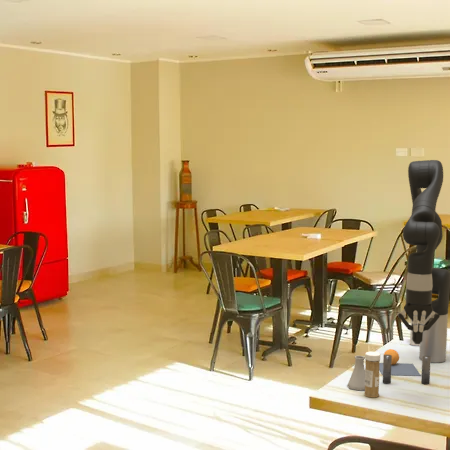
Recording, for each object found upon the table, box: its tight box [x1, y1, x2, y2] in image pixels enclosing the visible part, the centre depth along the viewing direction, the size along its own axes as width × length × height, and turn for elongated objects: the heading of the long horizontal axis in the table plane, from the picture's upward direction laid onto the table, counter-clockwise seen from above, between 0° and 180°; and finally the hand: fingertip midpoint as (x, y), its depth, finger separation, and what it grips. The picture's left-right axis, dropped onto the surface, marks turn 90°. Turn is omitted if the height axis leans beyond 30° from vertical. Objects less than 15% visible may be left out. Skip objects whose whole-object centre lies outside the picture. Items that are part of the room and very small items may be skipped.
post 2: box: [421, 355, 432, 386], centre depth 231 cm, size 3×3×9 cm
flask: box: [346, 355, 365, 391], centre depth 227 cm, size 7×7×10 cm
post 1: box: [382, 354, 392, 385], centre depth 232 cm, size 3×3×9 cm
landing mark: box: [379, 362, 422, 377], centre depth 246 cm, size 13×13×1 cm
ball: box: [383, 348, 400, 365], centre depth 251 cm, size 5×5×5 cm
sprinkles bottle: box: [364, 351, 381, 398], centre depth 219 cm, size 5×5×13 cm
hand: (416, 343), depth 217 cm, fingers closed
